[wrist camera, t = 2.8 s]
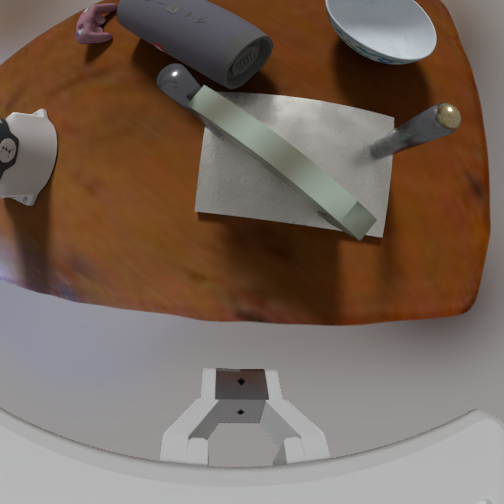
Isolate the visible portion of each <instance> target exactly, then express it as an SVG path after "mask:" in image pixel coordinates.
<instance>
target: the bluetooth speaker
mask: <svg viewBox="0 0 504 504" xmlns="http://www.w3.org/2000/svg"><path fill="white" fill-rule="evenodd" d="M117 19H118V22H119V23H120V24H121V25H122V26H123V27H125V28H126V29H127V30H129V31H130V32H132V33H134V34H135V35H137V36H139V37H140V38H142V39H143V40H145V41H147V42H148V43H150V44H152V45H153V46H155V47H156V48H158V49H159V50H161V51H163V52H165V53H166V54H169V55H170V56H172V57H174V58H176V59H177V60H179V61H181V62H182V63H184V64H186V65H187V66H189V67H191V68H193V69H194V70H196V71H198V72H199V73H201V74H203V75H204V76H206V77H208V78H209V79H211V80H213V81H215V82H217V83H218V84H220V85H222V86H224V87H226V88H228V89H235V88H238V87H240V86H242V85H244V84H245V83H246V82H247V81H248V80H249V79H250V78H251V77H252V76H253V75H254V74H255V73H256V72H258V71H259V70H260V69H261V68H262V67H263V66H264V64H265V63H266V61H267V60H268V58H269V56H270V54H271V52H272V48H273V42H272V40H271V39H270V37H268V36H267V35H266V34H265V33H263V32H262V31H261V30H259V29H258V28H257V27H255V26H254V25H252V24H250V23H249V22H247V21H245V20H244V19H242V18H240V17H238V16H237V15H235V14H233V13H231V12H229V11H227V10H225V9H223V8H221V7H219V6H217V5H215V4H213V3H210V2H208V1H206V0H120V2H119V4H118V7H117Z"/></svg>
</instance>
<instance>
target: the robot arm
mask: <svg viewBox="0 0 504 504" xmlns="http://www.w3.org/2000/svg"><path fill="white" fill-rule="evenodd" d="M56 154H57V135H56V131H55V128H54V126H53V124H52V123H51V122H50V121H49V120H48V117H47V112H46V110H45V109H40V110H38V111H36V112H35V113H33V114H32V115H31V114H24V113H12V114H11V115H9V116H8V117H7V118H6V119H1V118H0V198H5V197H11V198H13V199H15V200H17V201H19V202H21V203H23V204H25V205H27V206H33V204H34V203H35V200H36V198H37V195H38V193H39V192H40V191H41V190H42V188H43V187H44V186H45V185H46V183H47V181H48V180H49V178H50V175H51V173H52V170H53V167H54V164H55V159H56ZM219 423H259V424H260V426H261V427H262V428H263V429H264V431H265V432H266V433H267V434H268V435H269V437H270V438H271V439H272V440H273V441H274V443H275V444H276V445H277V446H278V447H279V448H280V449H279V451H278V453H277V455H276V457H275V459H274V461H273V466H259V467H214V466H209V456H208V442H207V439H208V438H209V437H210V435H211V434H212V432H213V431H214V430H215V428H216V426H218V424H219ZM0 504H504V423H503V422H502V421H501V420H500V419H499V418H498V417H496V416H494V415H492V414H490V413H488V412H486V411H484V410H481V409H473V410H471V411H469V412H467V413H465V414H464V415H461V416H459V417H457V418H455V419H453V420H451V421H449V422H447V423H445V424H442V425H440V426H438V427H435V428H433V429H430V430H428V431H426V432H423V433H420V434H418V435H415V436H412V437H410V438H407V439H404V440H401V441H398V442H395V443H392V444H389V445H385V446H382V447H378V448H375V449H371V450H367V451H363V452H359V453H355V454H351V455H346V456H341V457H336V458H331V457H330V453H329V449H328V446H327V442H326V439H325V435H324V433H323V432H322V431H321V430H320V429H319V428H317V427H316V426H315V425H314V424H313V423H312V422H310V420H308V419H307V418H306V417H305V416H304V415H303V414H302V413H301V412H300V411H298V410H297V409H296V408H295V407H294V406H293V405H292V404H291V403H290V402H289V401H288V400H283V396H282V391H281V387H280V381H279V376H278V372H277V370H276V369H222V368H207V367H204V368H203V375H202V389H201V399H196V400H195V401H194V403H193V404H192V405H191V406H190V407H189V408H188V409H187V410H186V411H185V412H184V413H183V414H182V415H181V416H180V417H179V418H178V419H177V420H176V421H175V422H174V423H173V424H172V425H171V426H170V427H169V429H167V430H166V431H165V433H164V434H163V441H162V448H161V457H160V461H154V460H149V459H143V458H138V457H133V456H128V455H123V454H119V453H115V452H111V451H107V450H103V449H99V448H96V447H93V446H89V445H86V444H83V443H80V442H77V441H74V440H71V439H68V438H66V437H63V436H60V435H57V434H55V433H52V432H50V431H47V430H45V429H43V428H40V427H38V426H36V425H34V424H31V423H29V422H27V421H25V420H23V419H21V418H19V417H17V416H15V415H13V414H11V413H9V412H7V411H5V410H4V409H2V408H0Z"/></svg>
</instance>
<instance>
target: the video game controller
mask: <svg viewBox="0 0 504 504" xmlns="http://www.w3.org/2000/svg"><path fill="white" fill-rule="evenodd" d="M117 7H118V5H116V4H112V3H111V4H98V5H92V6H89V7H88V8H87V9H86V10H85V11H84V12H83V13H82V15H81V16H80V18H79V20H78V22H77V27H76V32H77V33H76V34H77V36H76V39H77V41H78V42H79V43H81V44H88V43H102V42H106V41H109V40H111V39H112V35H111V34H109V33H103V29H102V28H101V27H94V28H92V27H93V24H94V25H95V26H101V25H103V23H104V22H105V18H104V17H103V16H102V15H101V14H104V13H108V12H112V11H115V10H117Z"/></svg>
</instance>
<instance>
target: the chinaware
mask: <svg viewBox="0 0 504 504" xmlns="http://www.w3.org/2000/svg"><path fill="white" fill-rule="evenodd" d="M325 3H326V10H327V14H328V17H329V20H330V22H331V24H332V26H333V28H334V30H335V31H336V33H337V34H338V35H339V37H340V38H341V39H342V40H343V41H344V42H345V43H346V44H347V45H348V46H349V47H350V48H352V49H353V50H355V51H356V52H358V53H359V54H361V55H363V56H365V57H367V58H369V59H371V60H374V61H377V62H381V63H386V64H408V63H413V62H416V61H419V60H421V59H423V58H425V57H427V56H428V55H430V54H431V53H432V52H433V50H434V48H435V46H436V32H435V29H434V26H433V24H432V22H431V20H430V18H429V17H428V15H427V14H426V13H425V11H424V10H423V9H422V8H421V7H420V6H419V5H418V4H417V3H416V2H415V1H414V0H325Z"/></svg>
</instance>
